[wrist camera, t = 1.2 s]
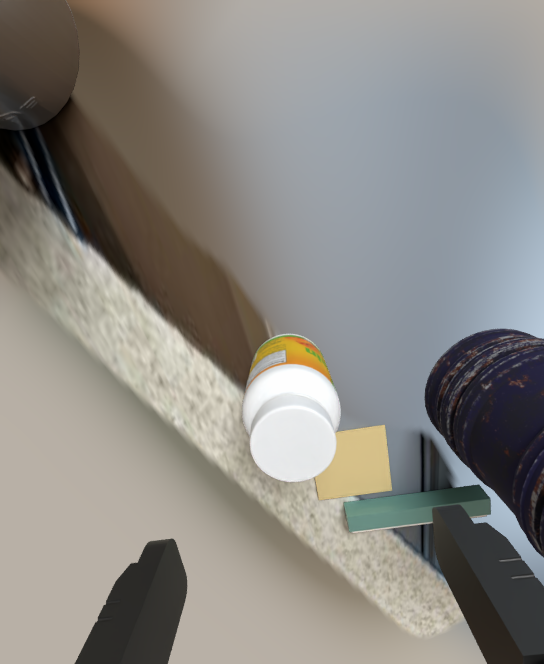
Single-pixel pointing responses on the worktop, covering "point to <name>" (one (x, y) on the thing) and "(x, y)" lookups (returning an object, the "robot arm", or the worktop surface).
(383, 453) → the pad
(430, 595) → the worktop surface
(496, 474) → the dark blue cylinder
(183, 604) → the robot arm
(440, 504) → the price rail
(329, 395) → the supplement bottle
